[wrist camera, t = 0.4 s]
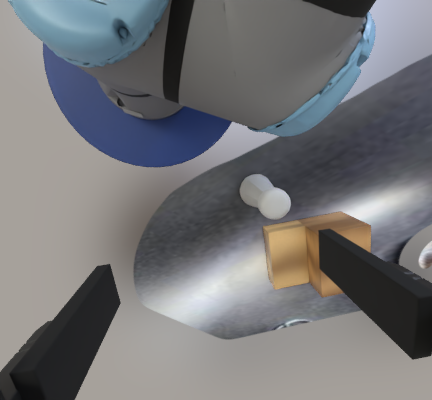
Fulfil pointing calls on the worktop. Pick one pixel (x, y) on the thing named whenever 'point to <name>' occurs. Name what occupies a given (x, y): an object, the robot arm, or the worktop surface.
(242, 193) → the salt shaker
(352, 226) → the stepped wooden block
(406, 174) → the worktop surface
